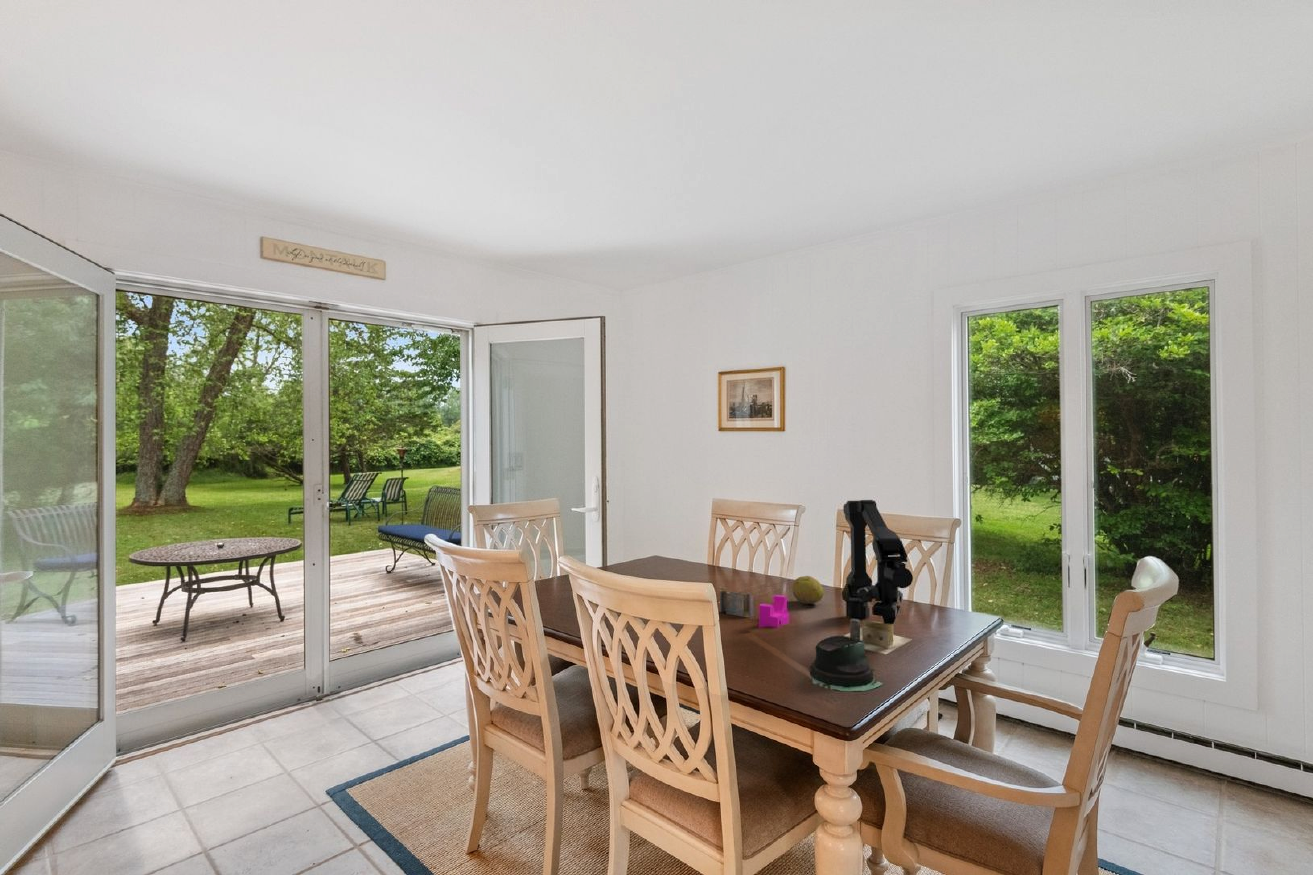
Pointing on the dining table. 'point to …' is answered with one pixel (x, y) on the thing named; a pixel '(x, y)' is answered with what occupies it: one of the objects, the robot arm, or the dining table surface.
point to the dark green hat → (842, 665)
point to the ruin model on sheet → (736, 603)
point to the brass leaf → (880, 628)
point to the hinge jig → (875, 638)
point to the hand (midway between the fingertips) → (888, 631)
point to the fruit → (807, 590)
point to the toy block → (774, 612)
